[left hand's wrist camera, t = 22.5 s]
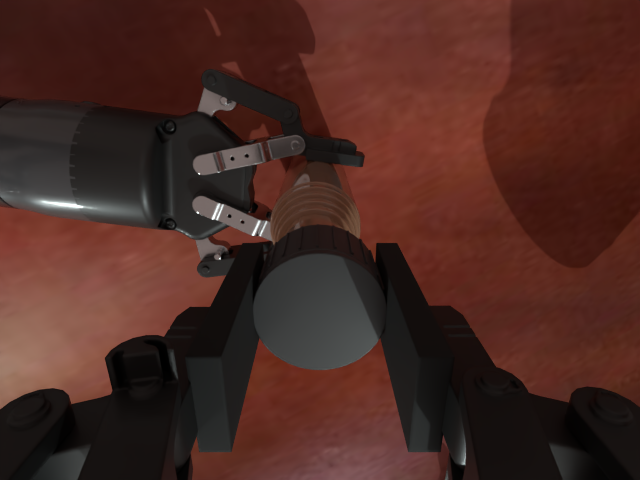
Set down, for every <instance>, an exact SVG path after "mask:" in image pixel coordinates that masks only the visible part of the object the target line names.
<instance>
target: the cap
mask: <svg viewBox="0 0 640 480" xmlns="http://www.w3.org/2000/svg"><path fill="white" fill-rule="evenodd" d="M258 280H259V282H258V285H257V288H256V291H255V296H254V300H253V315H254V326H255V329H256V332H257V334H258V336H259V338H260V339H261V341H262V342H263V344H264V345H265V346H266V347H267V348H268V349H269V350H270V351H271V352H272V353H273V354H274V355H275V356H277V357H278V358H280V359H281V360H283V361H285V362H287V363H289V364H292V365H294V366H297V367H301V368H305V369H312V370H327V369H334V368H339V367H342V366H345V365H348V364H350V363H353V362H355V361H356V360H358V359H360V358H361V357H363V356H364V355H365V354H367V353H368V352H369V351H370V350H371V349H372V348H373V347H374V345H375V344H376V343H377V342H378V340H379V338H380V337H381V335H382V333H383V330H384V328H385V324H386V311H387V303H386V298H385V294H384V291H385V288H384V285H383V282H382V279H381V276H380V273H379V270H378V267H377V264H376V263H375V262H374V259H373V256H372V253H371V250H368V248H367V247H366V246H365V244H364V243H363V242H362V240H361V239H358V238H357V237H356V236H355V235H353V234H351V233H350V232H349V231H348V230H347V231H346V230H344V229H341V228H338V227H335V226H334V225H332V226H330V225H319V224H316V225H309V226H305V227H303V226H302V227H301V228H298V229H296V230H294V231H292V232H290V233H289V232H288V233H286V235H285V236H284V237H282V238H281V239H280V240H279V241H278V242H275V244H274V246H273V248H272V249H271V251H270V253H269V254H268V253H267V255H266V258H265V261H264V264H263V267H262V270H261V273H260V276H259V279H258Z"/></svg>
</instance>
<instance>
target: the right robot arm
mask: <svg viewBox="0 0 640 480" xmlns="http://www.w3.org/2000/svg"><path fill="white" fill-rule="evenodd" d="M201 81H202V84H203V86H204V90H203V94H202V97H201V101H200V104H199V107H198V111H195V112H191V113H189V114H187V115H184V116H177V115H169V114H162V113H155V112H147V111H140V110H133V109H125V108H118V107H111V106H102V105H100V104H97V103H93V102H87V101H83V102H73V101H65V100H29V99H21V98H13V97H6V96H0V207H8V208H16V209H24V210H29V211H33V212H37V213H41V214H44V215H49V216H54V217H60V218H67V219H76V220H84V221H92V222H100V223H108V224H117V225H125V226H134V227H142V228H150V229H159V230H175V231H178V232H181V233H183V234H185V235H186V236H188V237H189V238H191V239H194V240H196V243H197V247H198V251H199V255H200V258H201V262H200V263H199V265H198V267H197V271H198V273H199V274H200V275H201V276H203V277H214V276H222V275H227V273H228V271H229V269H230V267H231V265H232V263H233V261H234V259H235V257H236V255H237V253H238V251H239V249H240V248H241V246H242V245H236V246H230V244H229V243H228V242H226V241H223V240H217V239H215V238H214V237H213V236H212V235H214V234H216V233H218V232H219V231H221V230H223V229H225V228H227V227H229V226H232V227H234V228H236V229H238V230H241V231H243V232H245V233H247V234H250V235H252V236H261V237H263V238H266V239H268V240H270V241H267V242H259V243H263V248H264V261H265V258H266V255H267V253H268V254H269V253H270V251H271V249H272V248H273V246H274V244H273V242H272V238H271V232H270V220H271V214H272V210H270V209H269V208H268V207H267V206H266V205H264V204H262V203H259V202H257V201H255V200H254V195H255V191H254V186H253V178H254V175H255V172H256V168H257V164H260V163H265V162H268V161H270V160H274V159H279V158H284V157H289V156H294V155H301V156H306V160H309V161H317V162H324V163H332V164H340V165H347V166H355V167H363V162H364V156H365V155H364V154H363V153H362V152H359V151H356V148H357V146H356V145H355V144H354V143H353V142H351V141H349V140H346V139H339V138H332V137H324V136H317V135H311V134H309V133H307V132H306V131H305V130H304V128H303V125H302V121H301V117H300V109H299V106H298V105H297V104H296V103H294V102H292V101H289V100H287V99H285V98H282V97H280V96H278V95H276V94H273V93H271V92H269V91H267V90H264V89H262V88H260V87H257V86H255V85H253V84H251V83H248V82H246V81H244V80H242V79H239V78H237V77H235V76H232V75H230V74H228V73H226V72H223V71H219V70H213V69H208V70H206V71H205V72H204V73H203V74H202V78H201ZM238 104H241V105H243V106H246V107H248V108H250V109H253V110H255V111H257V112H260V113H262V114H264V115H267V116H269V117H271V118H273V119H276V120H278V121H280V122H281V126H282V130H283V134H280V135H275V136H268V137H262V138H257V139H252V140H247V141H243V140H241V139H240V138H239V137H238V136H237V135H236V134H235V133H234V132H233V131H232V130H230V129H229V128H228V127H227V126H226V125H225V124H224V123H223V122H222V121H221V120H219V119H218V118H217V117H216V116H215V115H216V113H217V112H218V111H219V110H225V111H230V110H234V109H235V108H237V106H238ZM242 220H244V221H242Z"/></svg>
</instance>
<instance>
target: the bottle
mask: <svg viewBox="0 0 640 480" xmlns="http://www.w3.org/2000/svg"><path fill="white" fill-rule="evenodd" d="M316 224H319V225H330V226H332V225H334V226H335V227H338V228H341V229H344V230H346V231H347V230H348V231H349V232H350V233H351V234H353V235H355V236H356V237H357V238H358V239H359V237H360V216H359V212H358V209H357V206H356V203H355V200H354V197H353V194H352V192H351V189H350V186H349V183H348V180H347V177H346V174H345V171H344V168H343V165H340V164H332V163H324V162H317V161H309V160H306V156H301V155H294V157H293V158H292V160H291V162H290V165H289V167H288V170H287V173H286V176H285V178H284V181H283V184H282V186H281V189H280V192H279V195H278V197H277V200H276V203H275V205H274V208H273V211H272V214H271V220H270V232H271V238H272V242H273V244H275V242H278V241H279V240H280V239H281V238H282V237H284V236H285V235H286V233H288V232H289V233H290V232H292V231H294V230H296V229H298V228H301V227H302V226H303V227H305V226H309V225H316Z"/></svg>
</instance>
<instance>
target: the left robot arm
mask: <svg viewBox="0 0 640 480" xmlns="http://www.w3.org/2000/svg"><path fill="white" fill-rule="evenodd" d="M375 263H376V264H377V267H378V270H379V273H380V276H381V279H382V282H383V285H384V288H385V291H384V294H385V298H386V303H387V311H386V324H385V328H384V330H383V333H382V335H381V337H380V338H381V342H382V346H383V351H384V355H385V359H386V363H387V367H388V371H389V375H390V379H391V383H392V387H393V391H394V395H395V399H396V404H397V408H398V412H399V416H400V420H401V424H402V428H403V432H404V436H405V440H406V444H407V448H408V452H441V445H442V438H443V435H444V438H445V441H446V443H447V446H448V449H449V452H450V453H449V459H448V465H447V471H446V477H445V480H640V407H638V406H637V405H636V404H635V403H633V402H632V401H631V400H629V399H627V398H625V397H623V396H621V395H619V394H617V393H615V392H612V391H608V390H605V389H602V388H595V387H583V388H577V389H576V390H575V391H574V392H573V393H572V394H571V397H570V400H569V403H568V402H563V401H559V400H555V399H550V398H546V397H541V396H538V395H534V394H531V393H528V390H527V389H526V387H525V386H524V384H523V383H522V381H520V380H519V379H518V378H517V377H515V376H514V375H513V374H511V373H509V372H507V371H505V370H503V369H501V368H497V367H496V366H495V365H494V363H493V361H492V360H491V358H490V357H489V355H488V354H487V352H486V351H485V349H484V347H483V346H482V344H481V343H480V341H479V340H478V338H477V337H476V336H475V333H474V332H473V330H472V329H471V328H470V326H469V324H468V322H467V321H466V319H465V318H464V316H463V315H462V314H461V313H459V312H458V311H456V310H455V309H454V308H452V307H451V306H429V305H428V303H427V301H426V299H425V297H424V295H423V293H422V291H421V289H420V287H419V285H418V283H417V281H416V279H415V278H414V276H413V274H412V272H411V270H410V268H409V266H408V264H407V262H406V260H405V258H404V256H403V254H402V252H401V250H400V248H399V246H398V244H397V243H377V244H376V261H375ZM263 264H264V248H263V243H243V244H242V246H241V248H240V249H239V251H238V253H237V255H236V257H235V259H234V261H233V263H232V265H231V267H230V269H229V271H228V273H227V275H226V277H225V279H224V281H223V283H222V285H221V287H220V289H219V291H218V293H217V295H216V297H215V299H214V301H213V303H212V305H211V306H210V307H189V308H188V309H186V310H185V311H184V312H182V313H181V314H180V315H178V316H177V317H176V319H175V320H174V322H173V324H172V325H171V327H170V329H169V330H168V331H167V333H166V335H165V336H164V337H162V336H159V335H145V336H141V337H136V338H132V339H130V340H128V341H125V342H123V343H121V344H119V345H118V346H116V347H115V348H113V349H112V350H111V351H110V352H109V353H108V355H107V356H106V357H105V361H106V365H107V369H108V373H109V378H110V382H111V386H112V390H113V391H112V393H111V395H108V396H104V397H101V398H97V399H93V400H88V401H84V402H79V403H75V404H71V401H70V398H69V395H68V394H67V393H66V392H64V391H63V390H59V389H54V388H51V389H42V390H37V391H34V392H31V393H28V394H25V395H23V396H21V397H19V398H17V399H15V400H13V401H11V402H9V403H8V404H7V405H5V406H4V407H3V408H2V409H0V480H192V473H193V466H192V459H191V450H192V447H193V445H194V442H195V439H196V436H197V440H198V447H199V452H231V451H232V447H233V443H234V439H235V435H236V431H237V427H238V423H239V419H240V415H241V411H242V407H243V403H244V398H245V394H246V390H247V386H248V382H249V378H250V374H251V370H252V366H253V362H254V358H255V354H256V350H257V345H258V341H259V336H258V334H257V332H256V329H255V326H254V315H253V300H254V296H255V291H256V288H257V285H258V282H259V280H258V279H259V276H260V273H261V270H262V267H263Z"/></svg>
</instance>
